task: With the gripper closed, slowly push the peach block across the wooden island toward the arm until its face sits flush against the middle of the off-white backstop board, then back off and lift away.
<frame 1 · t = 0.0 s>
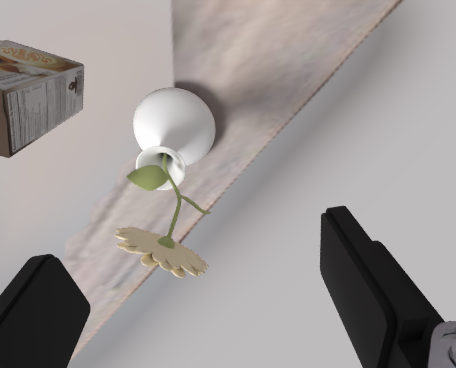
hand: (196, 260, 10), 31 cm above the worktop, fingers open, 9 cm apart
flower in vase: (180, 129, 39), on the worktop
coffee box: (49, 77, 35), on the worktop
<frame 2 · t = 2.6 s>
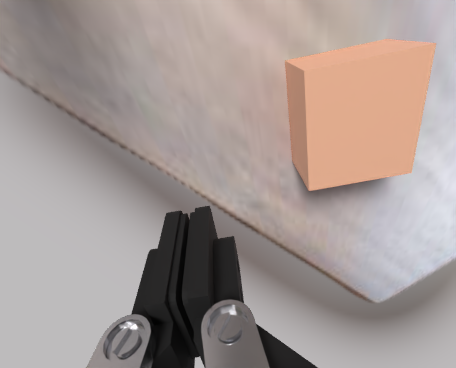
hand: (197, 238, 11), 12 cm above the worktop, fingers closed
peach block: (333, 106, 21), on the worktop
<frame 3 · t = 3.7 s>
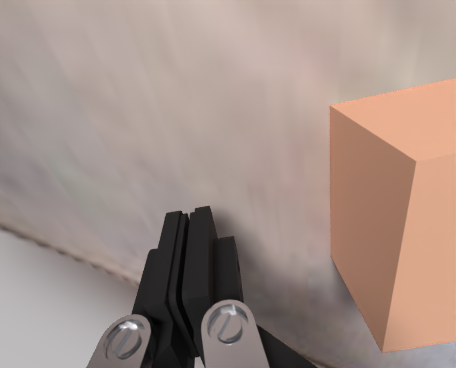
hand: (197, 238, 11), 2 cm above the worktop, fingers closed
peach block: (407, 175, 12), on the worktop
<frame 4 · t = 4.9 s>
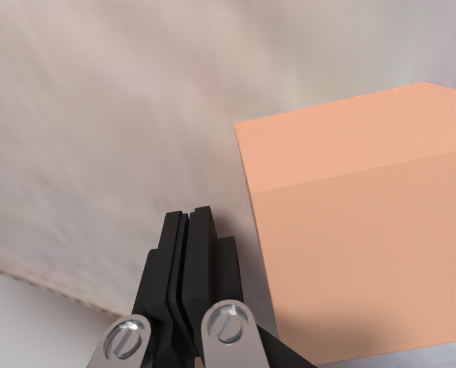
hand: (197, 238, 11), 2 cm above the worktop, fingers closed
peach block: (327, 190, 12), on the worktop
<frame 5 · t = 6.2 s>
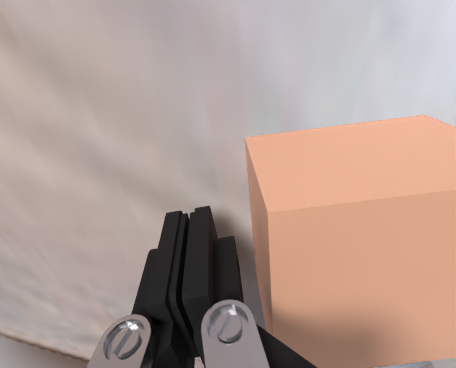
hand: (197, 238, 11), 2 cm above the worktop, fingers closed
peach block: (325, 207, 12), on the worktop
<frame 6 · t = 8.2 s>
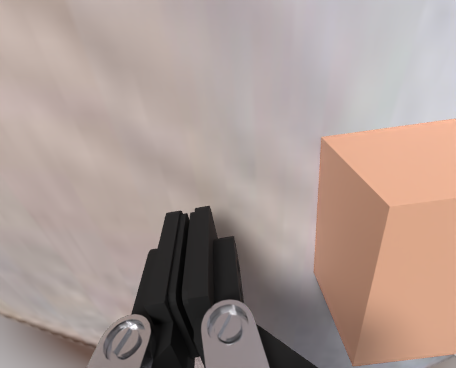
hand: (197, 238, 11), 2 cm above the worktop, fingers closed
peach block: (387, 203, 13), on the worktop
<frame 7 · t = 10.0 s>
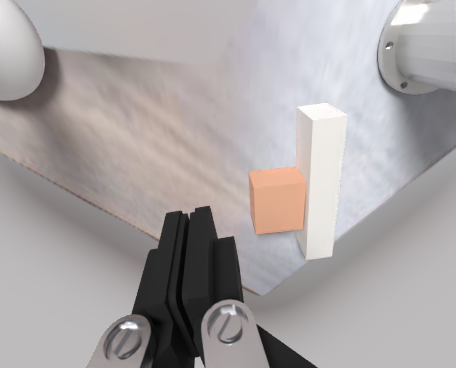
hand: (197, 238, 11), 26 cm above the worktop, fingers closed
peach block: (271, 191, 41), on the worktop
backstop board: (308, 177, 40), on the worktop
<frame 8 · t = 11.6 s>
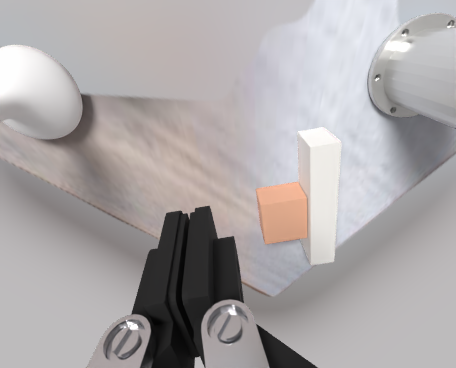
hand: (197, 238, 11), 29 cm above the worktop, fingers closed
peach block: (278, 204, 46), on the worktop
flower in vase: (38, 96, 35), on the worktop
backstop board: (310, 191, 45), on the worktop
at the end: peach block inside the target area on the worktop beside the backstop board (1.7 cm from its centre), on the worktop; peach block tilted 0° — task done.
